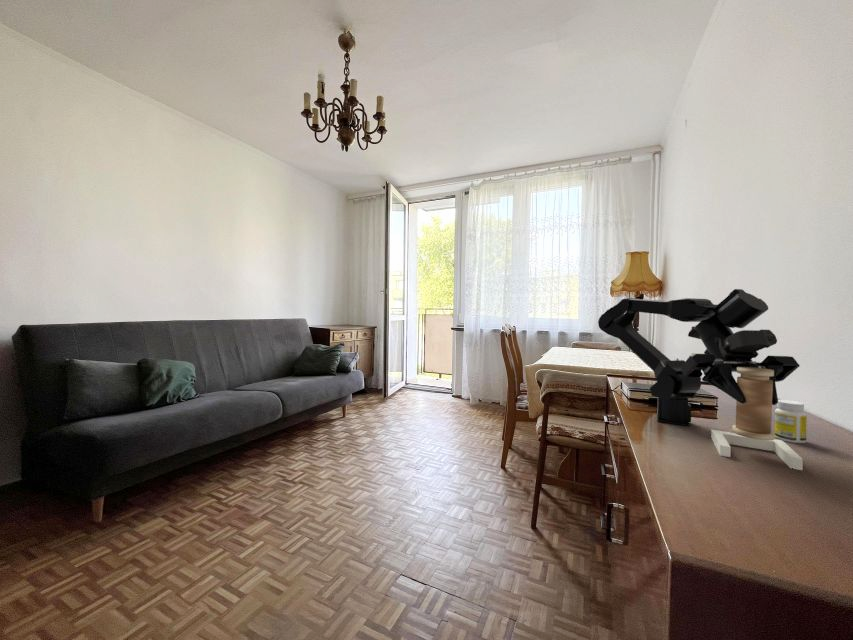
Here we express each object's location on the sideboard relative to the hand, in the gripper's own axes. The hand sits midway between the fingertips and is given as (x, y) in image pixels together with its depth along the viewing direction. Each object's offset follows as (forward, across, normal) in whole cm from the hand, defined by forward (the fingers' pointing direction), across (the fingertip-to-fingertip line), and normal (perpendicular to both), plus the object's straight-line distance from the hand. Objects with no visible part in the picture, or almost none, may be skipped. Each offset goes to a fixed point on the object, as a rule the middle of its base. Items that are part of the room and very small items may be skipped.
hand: (759, 403), depth 64 cm
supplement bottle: (-1, +15, +16) cm, 22 cm away
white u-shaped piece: (+6, 0, +8) cm, 11 cm away
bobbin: (+4, 0, +6) cm, 7 cm away
